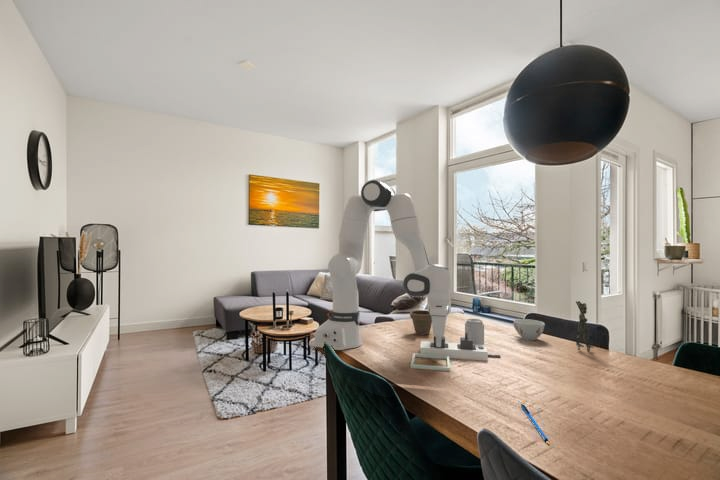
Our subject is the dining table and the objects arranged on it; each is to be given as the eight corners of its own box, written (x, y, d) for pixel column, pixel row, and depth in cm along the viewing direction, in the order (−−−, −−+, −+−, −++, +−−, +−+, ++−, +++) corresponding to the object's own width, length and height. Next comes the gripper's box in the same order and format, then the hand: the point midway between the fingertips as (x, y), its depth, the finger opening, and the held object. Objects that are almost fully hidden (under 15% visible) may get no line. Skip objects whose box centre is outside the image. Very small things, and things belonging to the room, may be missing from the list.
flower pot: (409, 335, 165) (409, 314, 165) (410, 330, 176) (410, 309, 176) (434, 337, 163) (434, 315, 163) (433, 330, 174) (433, 310, 174)
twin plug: (460, 356, 132) (461, 333, 132) (460, 353, 136) (460, 331, 136) (472, 357, 131) (472, 334, 131) (471, 353, 135) (471, 331, 135)
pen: (523, 406, 94) (523, 402, 94) (551, 447, 76) (551, 441, 76) (519, 406, 95) (519, 402, 95) (546, 446, 76) (547, 441, 76)
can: (481, 346, 148) (481, 318, 148) (486, 352, 140) (486, 322, 140) (463, 346, 148) (463, 317, 149) (466, 351, 141) (466, 321, 141)
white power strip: (420, 358, 133) (420, 345, 133) (421, 350, 142) (421, 339, 142) (502, 364, 127) (502, 351, 127) (498, 356, 136) (498, 344, 136)
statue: (596, 354, 139) (595, 302, 139) (577, 352, 141) (577, 301, 141) (592, 350, 143) (592, 301, 143) (574, 349, 145) (574, 300, 145)
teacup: (551, 341, 157) (551, 323, 157) (530, 344, 152) (530, 325, 152) (523, 333, 171) (523, 316, 171) (503, 335, 166) (503, 318, 166)
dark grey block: (433, 354, 134) (433, 338, 134) (433, 351, 138) (433, 335, 138) (445, 355, 133) (445, 338, 133) (444, 351, 137) (444, 336, 137)
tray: (410, 370, 120) (410, 364, 120) (413, 358, 132) (413, 353, 132) (450, 373, 117) (450, 367, 117) (449, 361, 130) (449, 355, 130)
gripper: (431, 302, 147) (430, 335, 147) (429, 311, 127) (429, 349, 127) (446, 302, 145) (446, 336, 145) (448, 312, 125) (447, 351, 125)
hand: (438, 342), depth 136 cm, fingers open, 8 cm apart
